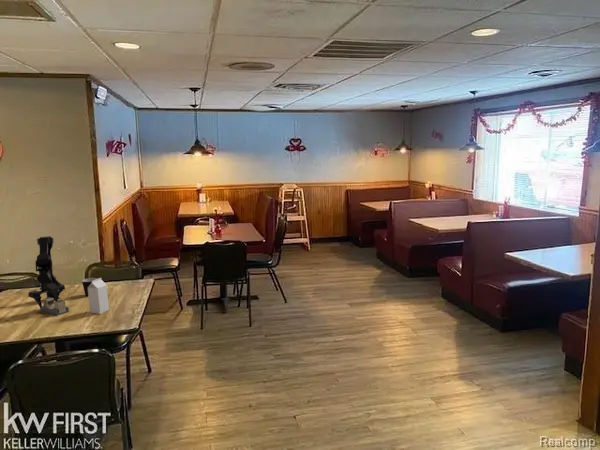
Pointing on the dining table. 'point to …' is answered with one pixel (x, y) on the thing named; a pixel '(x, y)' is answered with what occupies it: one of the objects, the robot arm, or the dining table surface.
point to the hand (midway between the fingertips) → (48, 304)
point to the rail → (52, 311)
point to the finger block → (48, 303)
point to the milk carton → (98, 296)
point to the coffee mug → (87, 285)
